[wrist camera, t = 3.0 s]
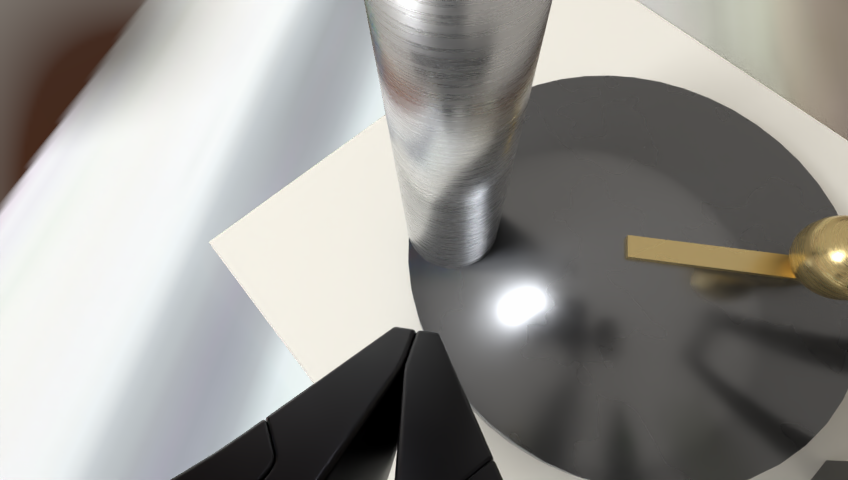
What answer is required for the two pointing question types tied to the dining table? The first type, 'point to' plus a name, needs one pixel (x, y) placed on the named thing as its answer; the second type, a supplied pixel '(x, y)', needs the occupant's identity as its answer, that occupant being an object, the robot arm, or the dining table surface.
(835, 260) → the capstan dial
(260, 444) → the robot arm
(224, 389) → the dining table surface
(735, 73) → the level stand
